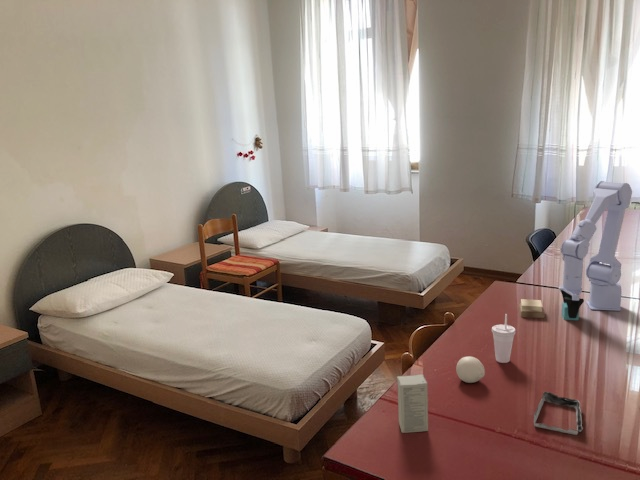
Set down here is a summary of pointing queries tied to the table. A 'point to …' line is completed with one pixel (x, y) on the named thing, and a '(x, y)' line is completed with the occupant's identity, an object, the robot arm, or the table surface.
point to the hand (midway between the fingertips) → (570, 313)
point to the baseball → (470, 369)
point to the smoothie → (503, 341)
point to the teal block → (565, 313)
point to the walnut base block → (531, 313)
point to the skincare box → (412, 403)
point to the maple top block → (531, 305)
